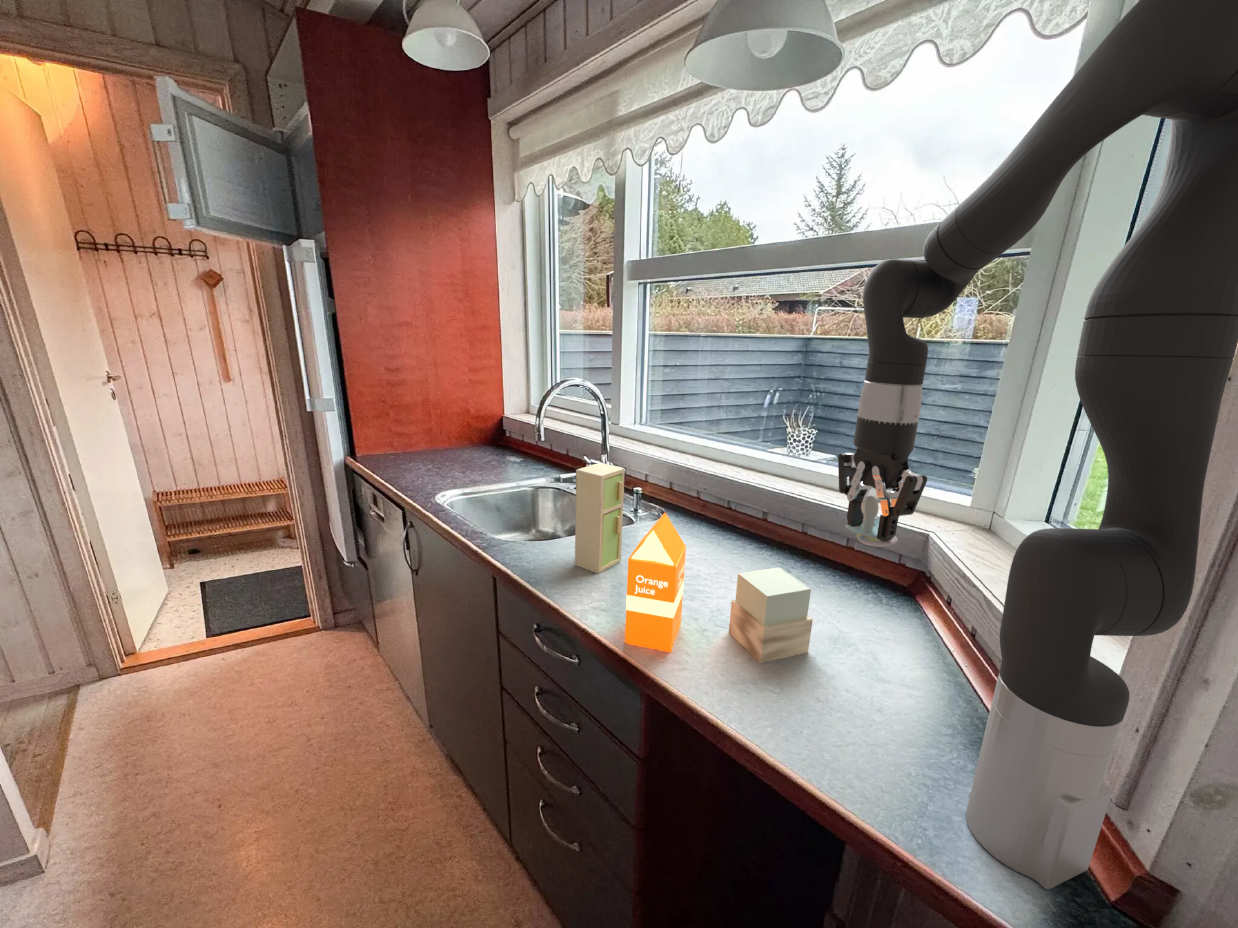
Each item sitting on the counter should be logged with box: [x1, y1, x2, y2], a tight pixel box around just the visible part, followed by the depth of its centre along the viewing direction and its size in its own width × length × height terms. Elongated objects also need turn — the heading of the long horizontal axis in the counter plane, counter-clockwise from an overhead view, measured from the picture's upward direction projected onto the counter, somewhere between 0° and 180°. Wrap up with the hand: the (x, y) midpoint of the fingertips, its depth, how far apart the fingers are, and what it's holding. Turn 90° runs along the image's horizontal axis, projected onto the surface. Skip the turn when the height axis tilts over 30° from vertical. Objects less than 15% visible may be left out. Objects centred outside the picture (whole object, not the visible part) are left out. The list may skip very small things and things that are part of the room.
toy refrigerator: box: [574, 462, 626, 574], centre depth 112 cm, size 8×7×21 cm
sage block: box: [734, 566, 812, 626], centre depth 86 cm, size 8×8×5 cm
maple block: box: [728, 599, 813, 664], centre depth 88 cm, size 9×9×6 cm
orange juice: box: [624, 512, 687, 653], centre depth 87 cm, size 8×9×20 cm
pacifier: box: [844, 495, 899, 548], centre depth 77 cm, size 7×6×6 cm
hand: (868, 531), depth 78 cm, fingers closed on pacifier, 5 cm apart
